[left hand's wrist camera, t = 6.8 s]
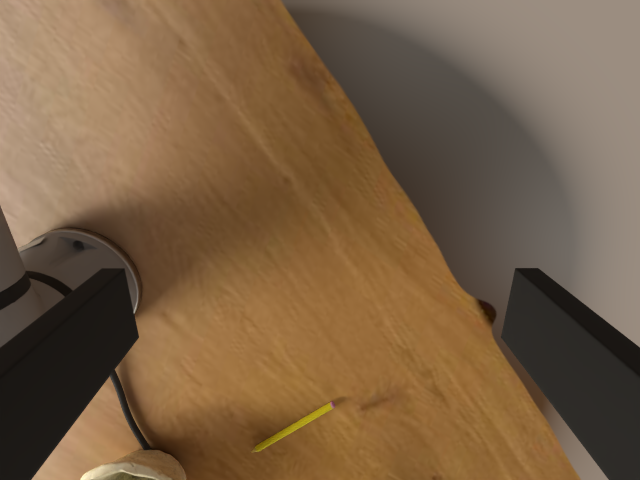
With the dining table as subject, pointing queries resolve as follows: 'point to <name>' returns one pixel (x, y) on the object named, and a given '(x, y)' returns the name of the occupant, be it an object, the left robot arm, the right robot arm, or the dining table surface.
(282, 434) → the pencil
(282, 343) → the dining table surface
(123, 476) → the bowl
